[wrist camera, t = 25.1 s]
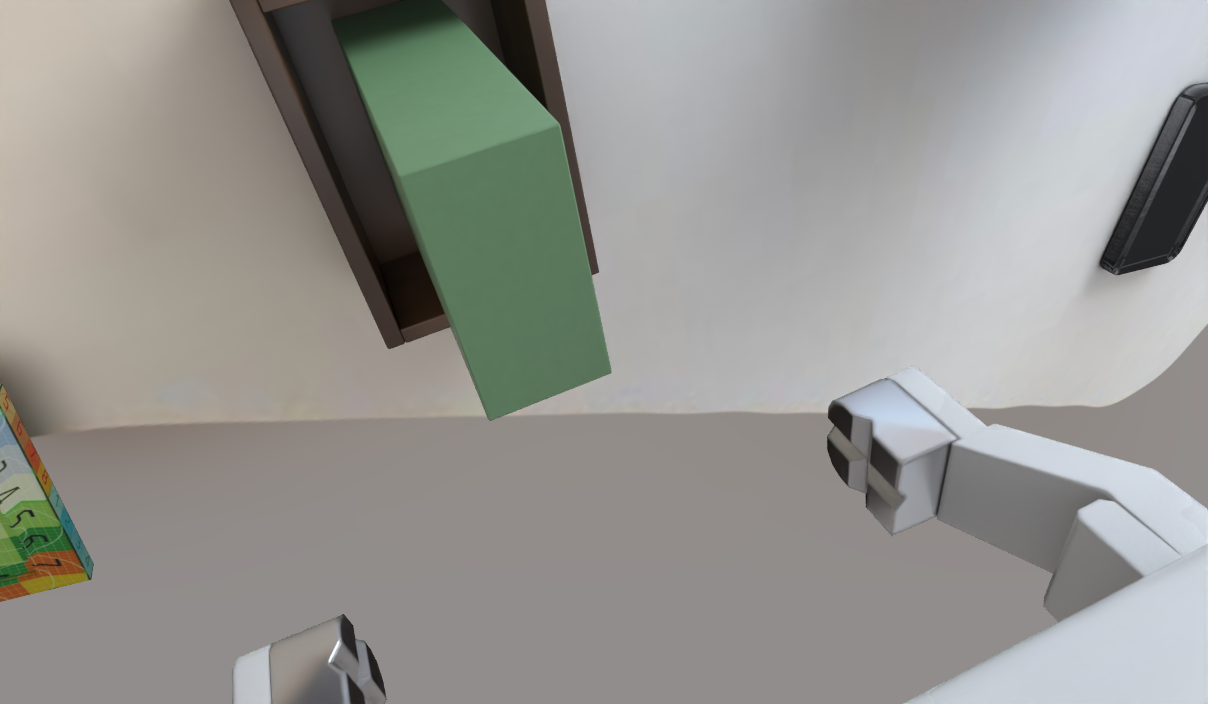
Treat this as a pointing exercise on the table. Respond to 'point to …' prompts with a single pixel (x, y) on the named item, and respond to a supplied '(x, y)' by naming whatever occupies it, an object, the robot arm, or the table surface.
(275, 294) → the table surface
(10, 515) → the puzzle game
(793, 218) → the table surface
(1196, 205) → the phone
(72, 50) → the table surface
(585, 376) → the tea packet
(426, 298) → the box
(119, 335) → the table surface
